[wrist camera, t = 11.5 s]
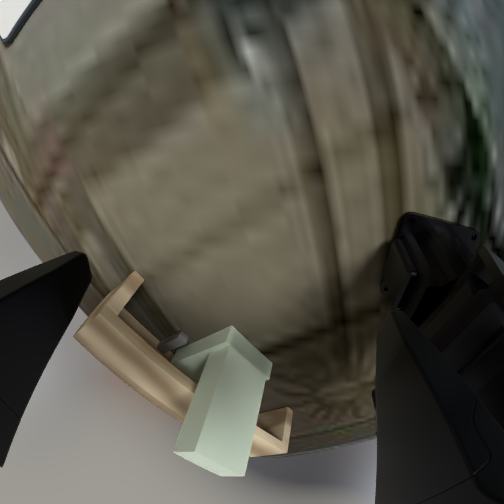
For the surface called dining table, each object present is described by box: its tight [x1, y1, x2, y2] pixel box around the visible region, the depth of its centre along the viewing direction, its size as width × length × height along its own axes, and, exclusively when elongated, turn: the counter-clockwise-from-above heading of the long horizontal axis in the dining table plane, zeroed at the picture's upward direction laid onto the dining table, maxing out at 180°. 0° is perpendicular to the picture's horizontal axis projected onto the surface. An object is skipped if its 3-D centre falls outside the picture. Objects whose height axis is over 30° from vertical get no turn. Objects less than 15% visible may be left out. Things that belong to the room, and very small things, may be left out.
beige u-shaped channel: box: [73, 271, 293, 457], centre depth 27 cm, size 7×24×6 cm, turn 39°
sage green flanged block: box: [170, 325, 272, 476], centre depth 23 cm, size 8×6×12 cm
